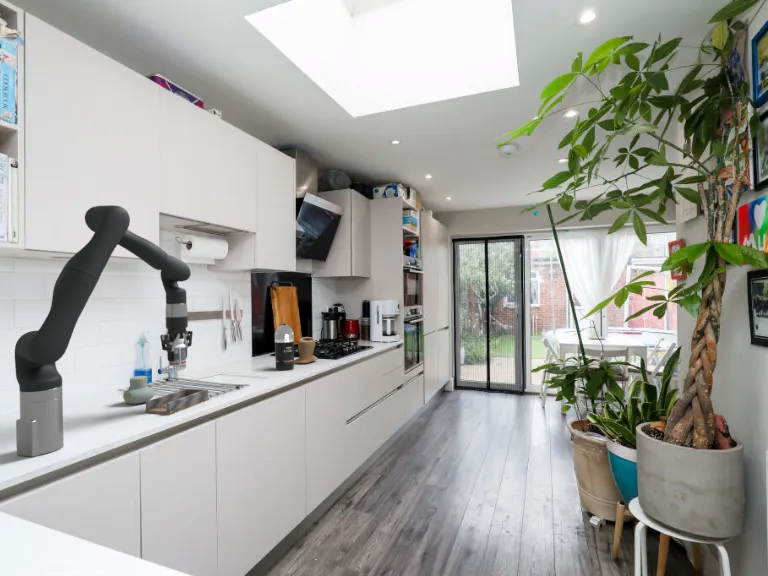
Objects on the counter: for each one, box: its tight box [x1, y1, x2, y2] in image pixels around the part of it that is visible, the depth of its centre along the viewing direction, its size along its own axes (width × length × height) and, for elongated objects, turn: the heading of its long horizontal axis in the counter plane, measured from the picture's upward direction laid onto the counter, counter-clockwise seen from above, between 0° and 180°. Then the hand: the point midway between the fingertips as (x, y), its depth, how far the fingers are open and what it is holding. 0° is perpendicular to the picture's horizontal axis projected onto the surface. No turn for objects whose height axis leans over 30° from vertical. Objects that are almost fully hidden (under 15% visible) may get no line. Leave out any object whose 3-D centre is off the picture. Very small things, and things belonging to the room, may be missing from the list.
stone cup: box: [294, 336, 319, 364], centre depth 246 cm, size 15×12×15 cm
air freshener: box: [122, 375, 155, 405], centre depth 164 cm, size 11×8×10 cm
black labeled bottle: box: [274, 323, 295, 371], centre depth 227 cm, size 10×10×25 cm
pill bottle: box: [168, 339, 187, 367], centre depth 157 cm, size 6×6×10 cm
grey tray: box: [144, 388, 210, 415], centre depth 157 cm, size 20×11×4 cm, turn 164°
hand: (177, 359), depth 157 cm, fingers closed on pill bottle, 5 cm apart
